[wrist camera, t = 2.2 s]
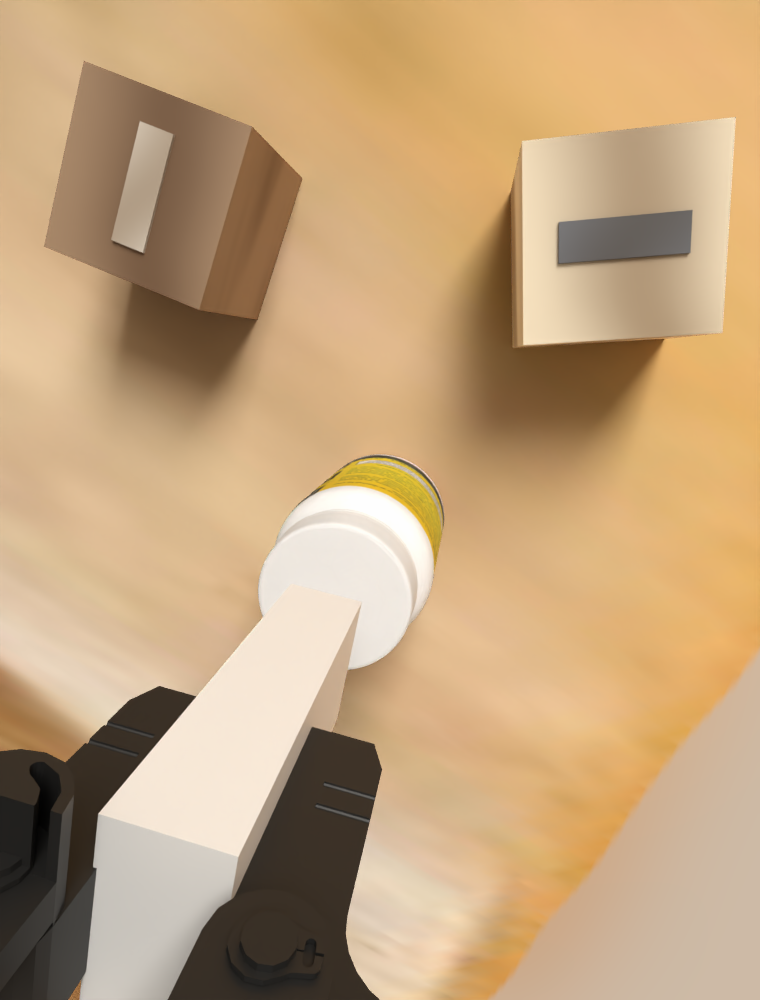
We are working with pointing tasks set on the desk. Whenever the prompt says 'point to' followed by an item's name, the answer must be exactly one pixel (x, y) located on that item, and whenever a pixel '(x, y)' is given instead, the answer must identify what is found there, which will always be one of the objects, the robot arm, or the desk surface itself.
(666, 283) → the beech block
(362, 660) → the supplement bottle
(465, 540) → the desk surface
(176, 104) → the walnut block
